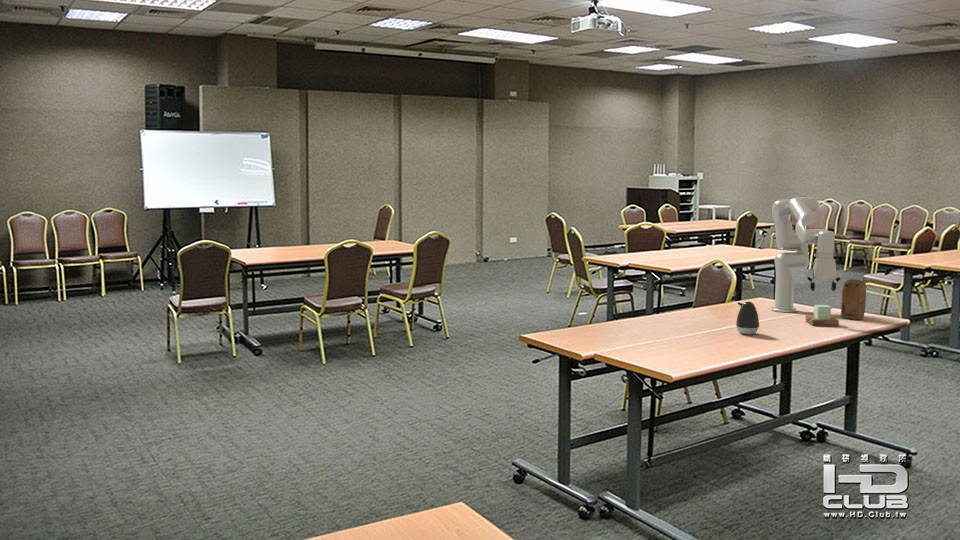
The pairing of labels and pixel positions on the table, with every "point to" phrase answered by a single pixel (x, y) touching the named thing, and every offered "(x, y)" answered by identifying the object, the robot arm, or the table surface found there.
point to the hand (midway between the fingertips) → (822, 290)
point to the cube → (822, 311)
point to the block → (853, 299)
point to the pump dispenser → (747, 319)
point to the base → (822, 321)
